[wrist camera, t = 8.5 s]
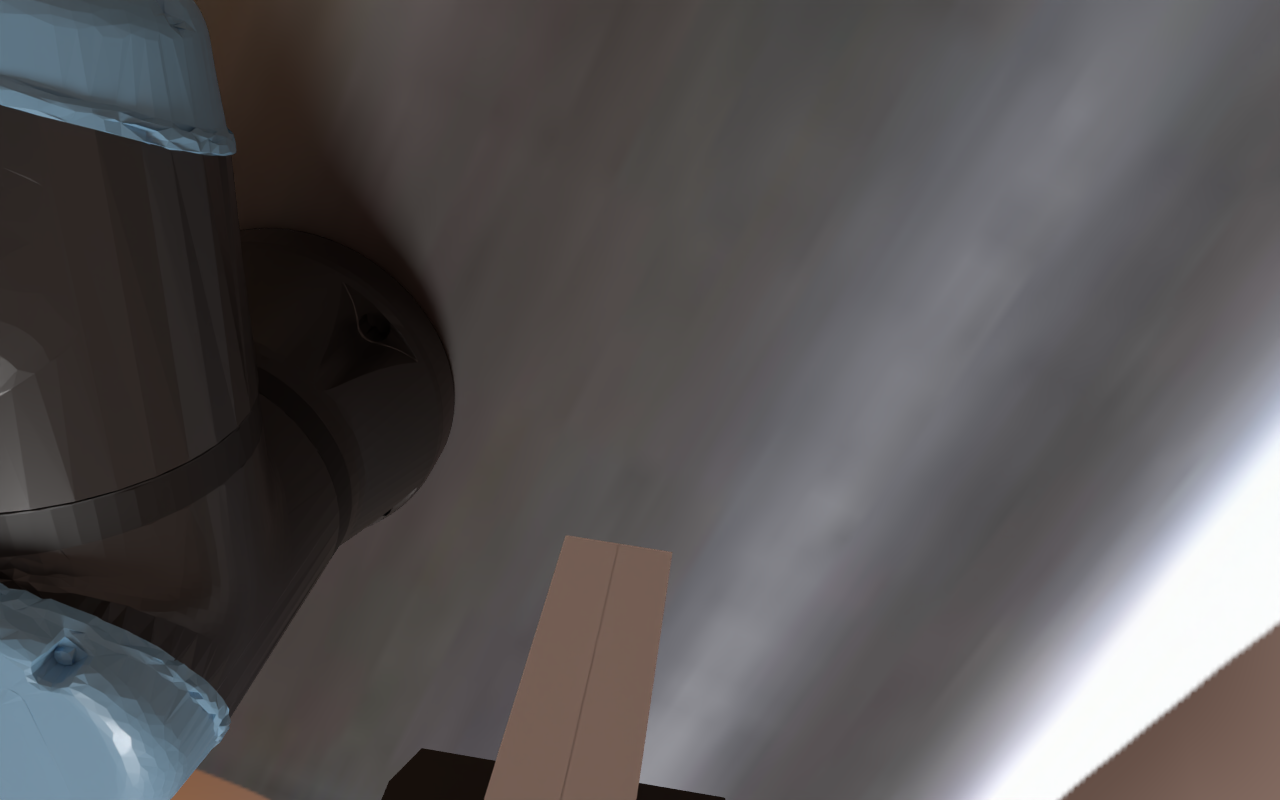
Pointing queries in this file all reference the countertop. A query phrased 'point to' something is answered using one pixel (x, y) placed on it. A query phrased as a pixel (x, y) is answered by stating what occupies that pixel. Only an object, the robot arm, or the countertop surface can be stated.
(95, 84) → the robot arm
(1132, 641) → the countertop surface
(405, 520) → the countertop surface
